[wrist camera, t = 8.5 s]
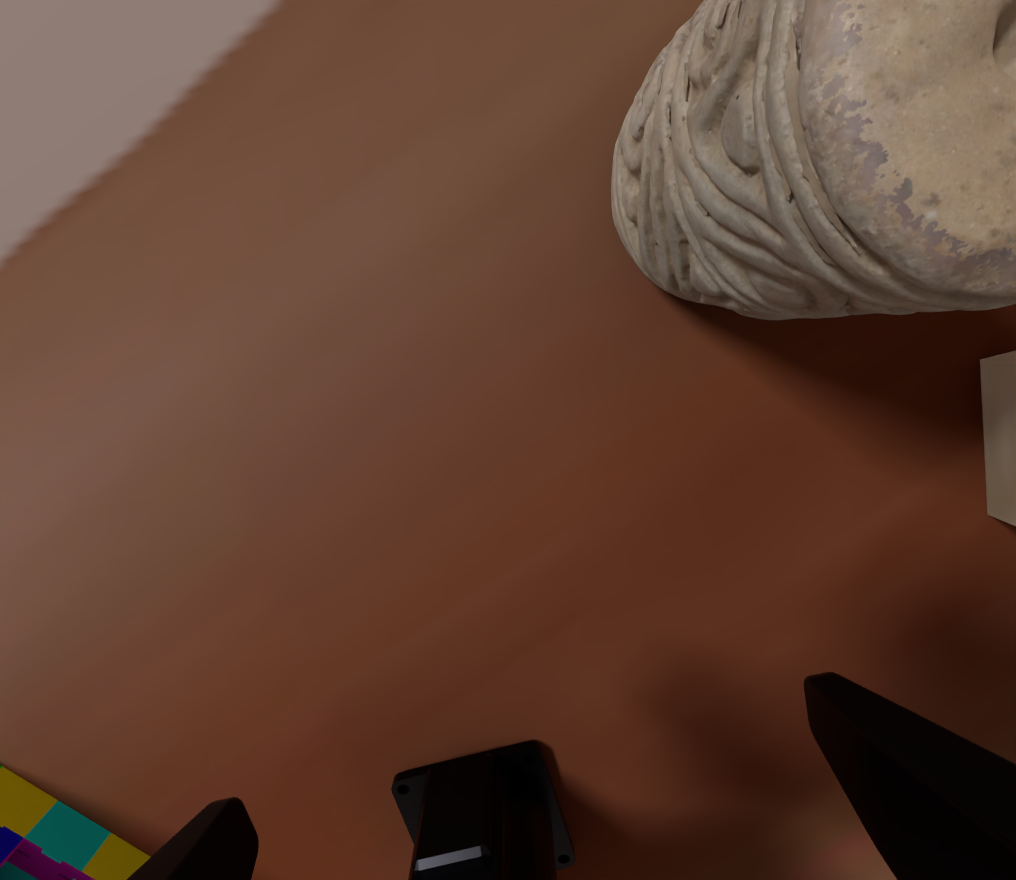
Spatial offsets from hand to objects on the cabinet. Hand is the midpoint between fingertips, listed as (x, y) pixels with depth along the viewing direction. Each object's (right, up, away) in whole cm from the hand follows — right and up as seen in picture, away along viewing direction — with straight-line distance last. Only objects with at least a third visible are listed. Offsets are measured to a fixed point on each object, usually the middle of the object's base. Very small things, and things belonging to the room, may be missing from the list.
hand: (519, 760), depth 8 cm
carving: (+6, +13, +9) cm, 17 cm away
